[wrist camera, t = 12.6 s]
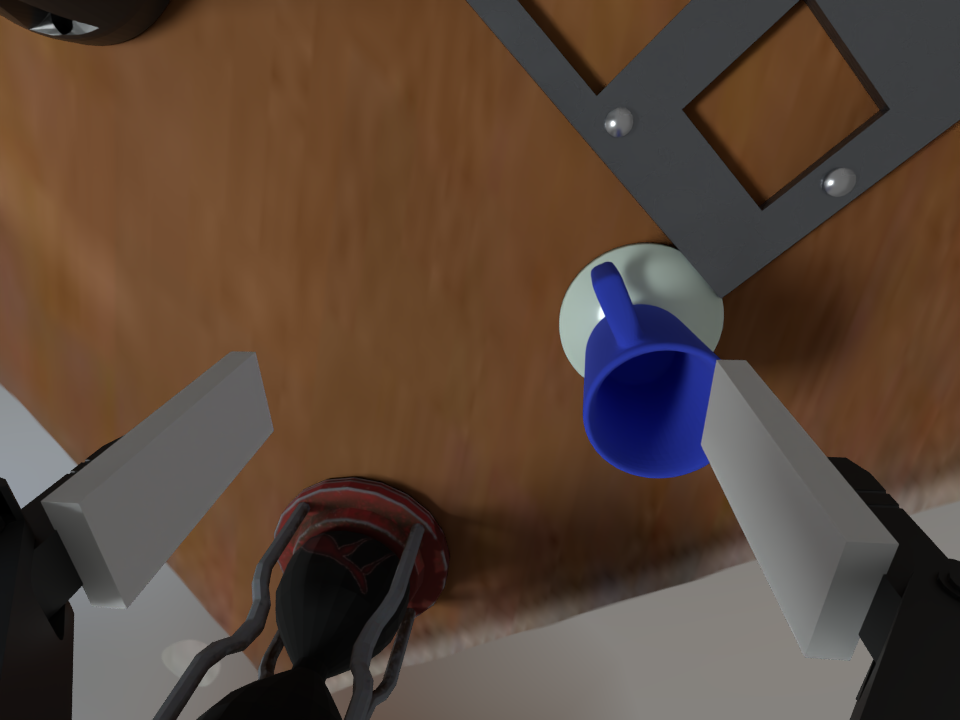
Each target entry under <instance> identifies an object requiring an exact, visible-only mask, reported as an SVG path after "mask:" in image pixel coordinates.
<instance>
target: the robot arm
mask: <svg viewBox="0 0 960 720" xmlns="http://www.w3.org/2000/svg"><path fill="white" fill-rule="evenodd" d="M169 1H170V0H0V15H1V16H3V17H5V18H7V19H8V20H10V21H12V22H13V23H15V24H17V25H19V26H21V27H23V28H25V29H28V30H30V31H32V32H35V33H38V34H40V35H43V36H46V37H50V38H54V39H58V40H63V41H68V42H74V43H79V44H85V45H94V46H104V45H112V44H117V43H121V42H124V41H127V40H129V39H131V38H134V37H135V36H137V35H139V34H140V33H142V32H143V31H145V30H146V29H147V28H148V27H150V26H151V25H152V24H153V23H154V22H155V21H156V20H157V19H158V17H159V16H160V15H161V13H162V12H163V11H164V9H165V8H166V6H167V5H168V3H169ZM273 431H274V429H273V425H272V421H271V416H270V412H269V408H268V403H267V399H266V395H265V391H264V386H263V382H262V378H261V373H260V369H259V365H258V361H257V356H256V352H230V353H229V354H227V355H226V356H225V357H224V358H222V359H221V360H220V361H218V362H217V363H216V364H215V365H213V366H212V367H211V368H210V369H208V370H207V371H206V372H204V373H203V374H202V375H201V376H199V377H198V378H197V379H196V380H194V381H193V382H192V383H190V384H189V385H188V386H187V387H185V388H184V389H183V390H182V391H180V392H179V393H178V394H176V395H175V396H174V397H173V398H171V399H170V400H169V401H168V402H166V403H165V404H164V405H163V406H161V407H160V408H159V409H157V410H156V411H155V412H154V413H152V414H151V415H150V416H149V417H147V418H146V419H145V420H143V421H142V422H141V423H140V424H138V425H137V426H136V427H135V428H133V429H132V430H131V431H129V432H128V433H127V434H126V435H124V436H122V437H120V438H118V439H116V440H114V441H112V442H110V443H108V444H106V445H104V446H102V447H101V448H100V449H98V450H97V451H96V452H95V453H93V454H92V455H91V456H89V457H88V458H87V459H86V460H85V463H80V464H79V465H78V466H77V467H75V468H74V469H73V470H71V473H70V474H66V475H65V476H64V477H62V478H61V479H60V480H58V481H57V482H56V483H54V484H53V485H52V486H51V487H49V488H48V489H47V490H45V491H44V492H43V493H42V494H40V495H39V496H38V497H36V498H35V499H34V500H33V501H31V502H30V503H29V504H27V505H26V506H25V507H23V508H22V509H21V508H20V506H19V504H18V502H17V501H16V499H15V497H14V495H13V493H12V491H11V489H10V487H9V485H8V483H7V481H6V479H3V478H0V720H72V684H73V683H72V682H73V641H74V640H73V639H74V612H73V609H72V607H71V605H70V603H69V601H68V600H69V599H70V598H71V597H72V596H73V595H74V594H75V593H76V592H77V591H78V589H79V588H80V587H81V586H83V588H84V590H85V592H86V594H87V596H88V599H89V600H90V603H91V605H92V606H93V607H106V608H119V609H127V608H128V607H129V606H130V605H131V603H132V602H133V601H134V600H135V598H136V597H137V596H138V595H139V594H140V592H141V591H142V590H143V589H144V588H145V586H146V585H147V584H148V582H150V580H151V579H152V578H153V577H154V575H155V574H156V573H157V572H158V571H159V569H160V568H161V567H162V566H163V564H164V563H165V562H166V561H167V560H168V558H169V557H170V556H171V555H172V554H173V552H174V551H175V550H176V549H177V548H178V546H179V545H180V544H181V543H182V541H183V540H184V539H185V538H186V537H187V535H188V534H189V533H190V532H191V531H192V529H193V528H194V527H195V526H196V524H197V523H198V522H199V521H200V520H201V518H202V517H203V516H204V515H205V514H206V512H207V511H208V510H209V509H210V507H211V506H212V505H213V504H214V503H215V501H216V500H217V499H218V498H219V497H220V495H221V494H222V493H223V492H224V491H225V489H226V488H227V487H228V486H229V484H230V483H231V482H232V481H233V480H234V478H235V477H236V476H237V475H238V474H239V472H240V471H241V470H242V469H243V467H244V466H245V465H246V464H247V463H248V461H249V460H250V459H251V458H252V457H253V455H254V454H255V453H256V452H257V450H258V449H259V448H260V447H261V446H262V444H263V443H264V442H265V441H266V440H267V438H268V437H269V436H270V435H271V433H272V432H273ZM701 446H702V448H703V450H704V452H705V454H706V456H707V458H708V460H709V462H710V464H711V467H712V469H713V471H714V473H715V475H716V477H717V479H718V481H719V483H720V485H721V487H722V489H723V491H724V493H725V495H726V497H727V499H728V501H729V503H730V506H731V508H732V510H733V512H734V514H735V516H736V518H737V520H738V522H739V524H740V526H741V528H742V530H743V532H744V534H745V536H746V538H747V540H748V542H749V545H750V547H751V549H752V551H753V553H754V555H755V557H756V559H757V561H758V563H759V565H760V567H761V569H762V571H763V573H764V575H765V577H766V579H767V581H768V584H769V586H770V588H771V590H772V592H773V594H774V596H775V598H776V600H777V602H778V604H779V606H780V608H781V610H782V612H783V614H784V616H785V618H786V620H787V623H788V625H789V626H790V628H791V631H792V633H793V635H794V637H795V639H796V641H797V643H798V645H799V647H800V649H801V651H802V653H803V655H804V657H805V658H820V659H833V660H848V661H850V660H851V657H852V655H853V653H854V650H855V648H856V645H857V643H858V640H859V638H861V640H862V641H863V643H864V645H865V646H866V648H867V650H868V651H869V653H870V654H871V656H872V657H873V661H872V664H871V666H870V668H869V670H868V673H867V675H866V677H865V679H864V681H863V684H862V686H861V688H860V691H859V693H858V695H857V697H856V700H857V702H856V705H855V707H854V710H853V713H852V715H851V718H850V720H960V561H957V560H954V559H948V558H947V557H946V556H945V555H944V554H943V552H942V551H941V550H940V549H939V548H938V547H937V546H936V545H935V544H934V543H933V542H932V540H931V539H930V538H929V537H928V536H927V535H926V534H925V533H924V532H923V530H922V529H920V527H919V526H918V525H917V524H916V523H915V522H914V521H913V520H912V519H911V517H910V516H909V515H908V514H907V513H906V512H905V511H904V510H903V509H901V508H899V504H898V503H897V502H896V501H895V500H894V499H893V498H892V497H891V496H890V494H886V490H885V489H884V488H883V487H882V486H881V485H880V483H879V482H878V481H877V480H876V479H875V478H874V477H873V476H872V475H871V474H870V473H869V472H868V471H866V470H864V469H863V468H861V467H860V466H858V465H857V464H855V463H853V462H852V461H850V460H849V459H847V458H840V457H826V456H825V455H824V453H823V452H822V451H821V450H820V449H819V447H818V446H817V445H816V444H815V442H814V441H813V440H812V439H811V438H810V436H809V435H808V434H807V433H806V432H805V430H804V429H803V428H802V427H801V426H800V424H799V423H798V422H797V421H796V420H795V418H794V417H793V416H792V415H791V414H790V412H789V411H788V410H787V409H786V408H785V406H784V405H783V404H782V403H781V402H780V400H779V399H778V398H777V397H776V396H775V394H774V393H773V392H772V391H771V390H770V388H769V387H768V386H767V385H766V384H765V382H764V381H763V380H762V379H761V378H760V376H759V375H758V374H757V373H756V372H755V370H754V369H753V368H752V367H751V366H750V364H749V363H748V362H747V361H746V360H716V365H715V371H714V376H713V381H712V387H711V392H710V398H709V403H708V409H707V414H706V419H705V425H704V430H703V436H702V441H701Z"/></svg>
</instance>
